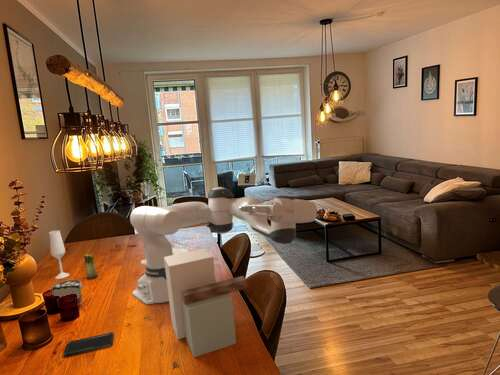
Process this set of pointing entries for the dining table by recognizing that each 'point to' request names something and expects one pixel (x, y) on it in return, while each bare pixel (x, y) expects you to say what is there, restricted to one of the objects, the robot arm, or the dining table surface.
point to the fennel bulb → (90, 266)
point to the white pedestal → (186, 281)
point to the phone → (88, 344)
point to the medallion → (175, 251)
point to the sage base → (209, 324)
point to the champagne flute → (57, 250)
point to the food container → (68, 289)
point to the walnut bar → (213, 290)
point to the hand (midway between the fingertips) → (246, 209)
